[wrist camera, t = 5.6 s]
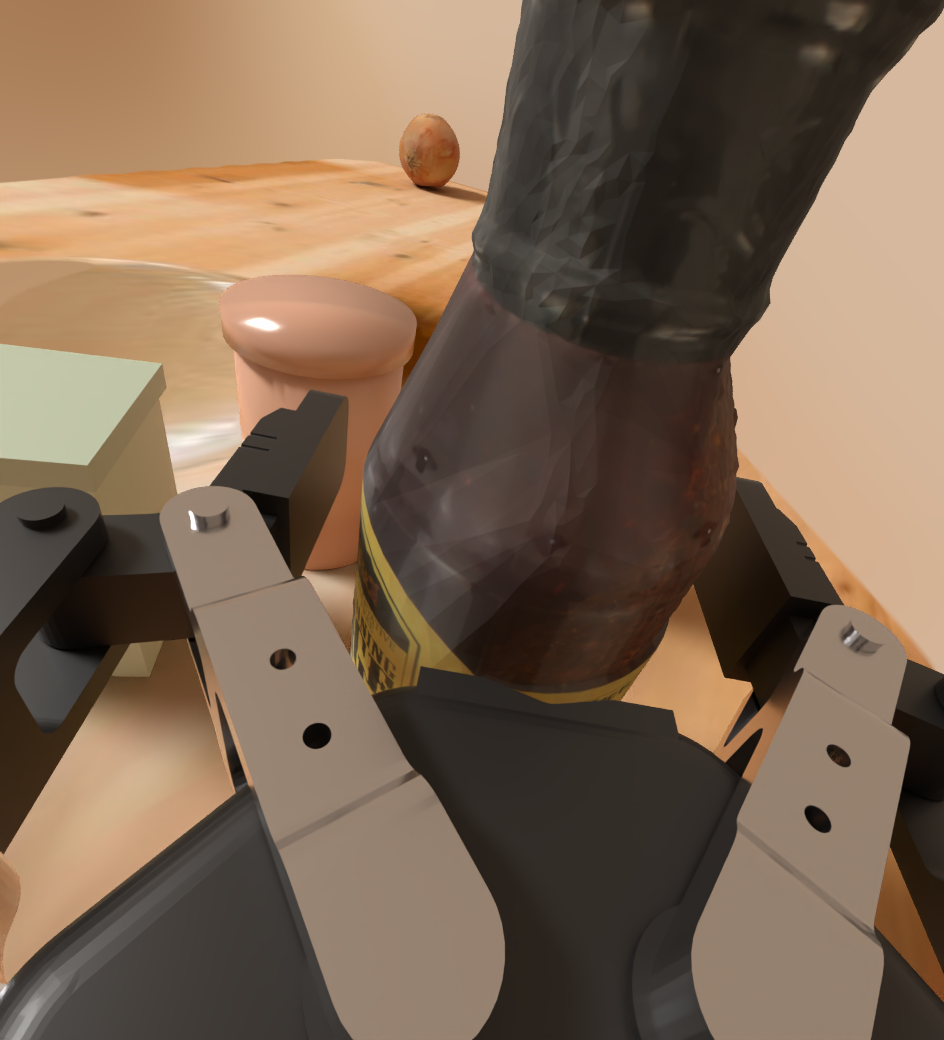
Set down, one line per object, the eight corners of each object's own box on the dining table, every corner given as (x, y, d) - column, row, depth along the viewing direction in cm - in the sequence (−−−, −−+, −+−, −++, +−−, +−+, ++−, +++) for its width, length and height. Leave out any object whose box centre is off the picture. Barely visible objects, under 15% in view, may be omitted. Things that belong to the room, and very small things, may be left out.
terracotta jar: (217, 558, 23) (182, 321, 17) (272, 469, 28) (262, 262, 22) (375, 587, 23) (399, 366, 17) (401, 494, 28) (427, 298, 22)
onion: (463, 192, 96) (474, 122, 89) (439, 197, 88) (449, 122, 82) (413, 177, 97) (420, 107, 91) (385, 181, 90) (391, 106, 84)
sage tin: (-35, 679, 17) (-196, 441, 12) (48, 557, 21) (-43, 338, 16) (153, 682, 18) (87, 465, 13) (198, 566, 22) (162, 363, 17)
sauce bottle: (374, 674, 20) (482, -163, 8) (542, 715, 20) (922, -56, 8) (305, 874, 15) (284, -663, 3) (529, 929, 15) (1610, -338, 3)
